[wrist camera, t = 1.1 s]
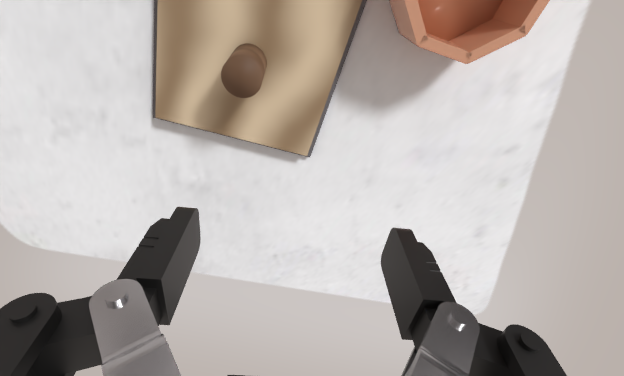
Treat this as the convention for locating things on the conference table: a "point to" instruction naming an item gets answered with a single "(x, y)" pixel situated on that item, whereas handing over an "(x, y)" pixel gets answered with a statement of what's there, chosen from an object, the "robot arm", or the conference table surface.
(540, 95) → the conference table surface
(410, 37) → the terracotta bowl
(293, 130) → the oak lid
